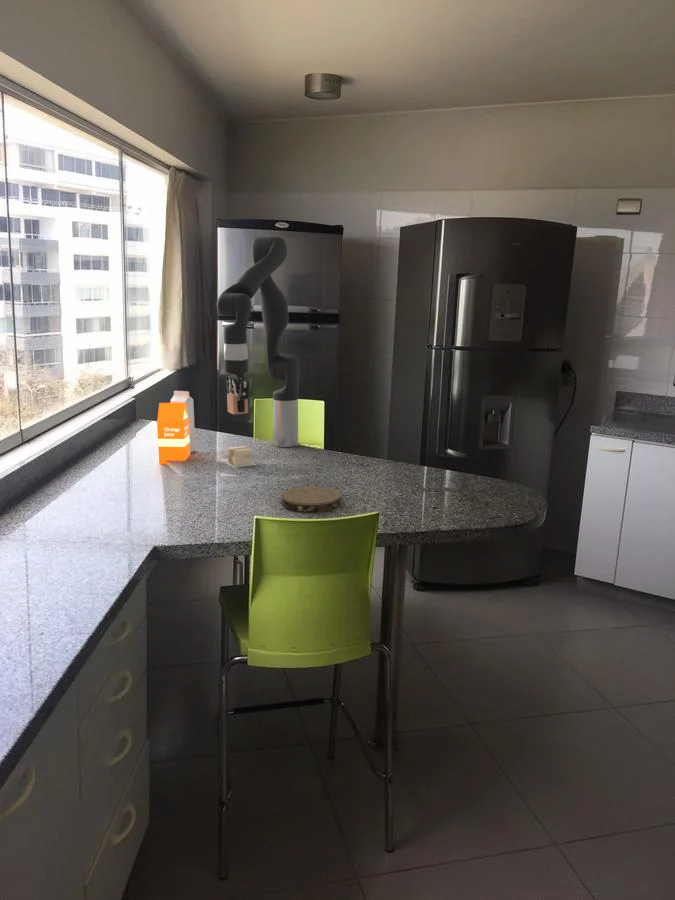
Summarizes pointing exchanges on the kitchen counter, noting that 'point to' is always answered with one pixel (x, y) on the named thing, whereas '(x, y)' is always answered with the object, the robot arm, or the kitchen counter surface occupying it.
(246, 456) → the birch block
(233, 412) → the terracotta block
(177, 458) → the orange juice
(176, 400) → the milk
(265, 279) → the robot arm
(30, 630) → the kitchen counter surface
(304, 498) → the tambourine
